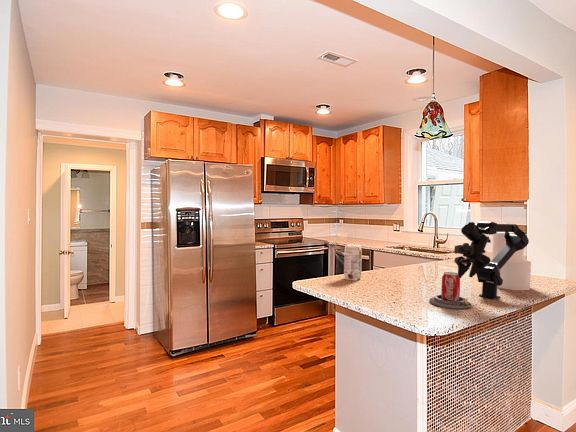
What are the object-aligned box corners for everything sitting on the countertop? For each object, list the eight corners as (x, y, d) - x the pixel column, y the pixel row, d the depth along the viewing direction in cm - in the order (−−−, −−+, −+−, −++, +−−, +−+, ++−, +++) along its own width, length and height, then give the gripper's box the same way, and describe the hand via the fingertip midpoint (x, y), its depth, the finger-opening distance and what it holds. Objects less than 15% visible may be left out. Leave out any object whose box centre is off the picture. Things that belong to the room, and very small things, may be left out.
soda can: (463, 303, 147) (463, 274, 147) (446, 303, 147) (447, 275, 146) (453, 299, 154) (454, 271, 154) (437, 299, 154) (438, 271, 153)
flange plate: (445, 297, 161) (445, 288, 161) (479, 306, 148) (479, 296, 147) (421, 301, 153) (421, 292, 153) (454, 311, 140) (455, 301, 139)
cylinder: (483, 283, 191) (485, 231, 190) (507, 281, 197) (509, 231, 196) (512, 291, 175) (514, 234, 174) (538, 289, 180) (540, 234, 179)
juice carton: (357, 281, 192) (357, 246, 191) (342, 279, 197) (343, 245, 196) (362, 279, 198) (363, 245, 198) (348, 277, 203) (348, 243, 202)
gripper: (450, 240, 167) (437, 269, 164) (473, 234, 149) (458, 266, 146) (472, 252, 167) (459, 281, 163) (497, 247, 149) (483, 280, 145)
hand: (464, 277), depth 154 cm, fingers open, 9 cm apart
